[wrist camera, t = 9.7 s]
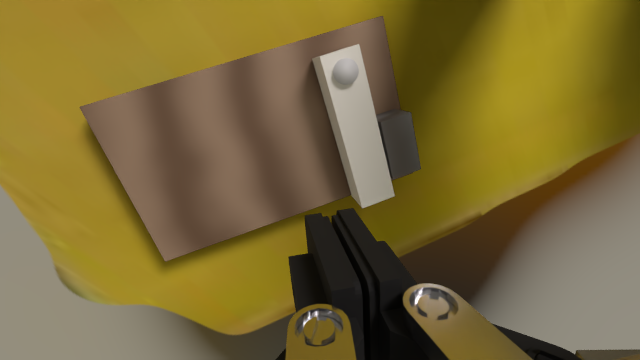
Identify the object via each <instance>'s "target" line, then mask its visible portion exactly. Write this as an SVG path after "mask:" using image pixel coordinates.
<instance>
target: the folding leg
mask: <svg viewBox="0 0 640 360" xmlns="http://www.w3.org/2000/svg"><path fill="white" fill-rule="evenodd" d="M312 60H313V64H314V67H315V71H316V74H317V77H318V81H319V84H320V88H321V91H322V95H323V98H324V102H325V105H326V108H327V112H328V115H329V119H330V122H331V126H332V129H333V133H334V136H335V140H336V143H337V146H338V150H339V153H340V157H341V160H342V164H343V167H344V171H345V174H346V177H347V181H348V184H349V188H350V191H351V195H352V197H353V198H354V199H355V200H356V201H357V203H358V204H359V205H360V206H361V207H362V208H365V207H368V206H370V205H373V204H376V203H378V202H381V201H383V200H386V199H389V198H391V197H394V196H395V195H394V190H393V186H392V182H391V178H390V173H389V169H388V165H387V161H386V156H385V152H384V148H383V144H382V139H381V135H380V131H379V127H378V122H377V118H376V114H375V110H374V105H373V101H372V97H371V92H370V88H369V84H368V80H367V75H366V71H365V67H364V63H363V58H362V54H361V50H360V46H359V44H357V45H354V46H350V47H347V48H343V49H340V50H337V51H334V52H331V53H328V54H325V55H322V56H319V57H316V58H313V59H312Z"/></svg>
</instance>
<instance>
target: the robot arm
mask: <svg viewBox="0 0 640 360" xmlns="http://www.w3.org/2000/svg"><path fill="white" fill-rule="evenodd" d="M305 227H306V237H307V247H308V254H302V255H296V256H290V257H289V266H290V274H291V282H292V289H293V296H294V302H295V308H296V314H294V316H293V317H292V319H291V320H290V322H289V325H288V330H287V345H286V349H285V350H284V351H283V352H282V353H281V354H280V355H279V357H278V358H277V359H276V360H640V350H577V351H576V353H575V354H573V353H571V352H570V351H567V350H565V349H563V348H561V347H558V346H556V345H553V344H550V343H547V342H544V341H541V340H538V339H535V338H532V337H530V336H527V335H523V334H521V333H518V332H515V331H512V330H509V329H506V328H503V327H500V326H497V325H494V324H492V323H490V322H489V321H487V320H486V319H485V318H484V317H483V316H482V315H481V314H480V313H478V312H477V311H476V310H475V309H474V308H473V307H472V306H470V305H469V304H468V303H467V302H466V301H465V300H463V299H462V298H461V297H460V296H459V295H458V294H456V293H455V292H453V291H452V290H450V289H448V288H446V287H443V286H441V285H436V284H428V283H426V284H425V283H423V284H417V283H416V282H415V280H414V279H413V278H412V276H411V275H410V274H409V272H408V271H407V270H406V268H405V267H404V266H403V264H402V263H401V262H400V260H399V259H398V258H397V256H396V255H395V254H394V252H393V251H392V250H391V248H390V247H389V246H388V244H387V243H386V242H385V241H378V242H377V241H376V240H375V238H374V237H373V236H372V234H371V233H370V231H369V230H368V228H367V227H366V226H365V224H364V223H363V221H362V220H361V218H360V217H359V216H358V214H357V213H356V211H355V210H354V209H353V208H351V209H345V210H338V211H337V214H336V215H333V216H332V224H331V222H330V220H329V218H328V216H326V217H323V216H322V214H321V213H318V214H311V215H305Z"/></svg>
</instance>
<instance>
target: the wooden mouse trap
mask: <svg viewBox="0 0 640 360" xmlns="http://www.w3.org/2000/svg"><path fill="white" fill-rule="evenodd" d="M357 44H359V46H360V50H361V54H362V58H363V63H364V67H365V71H366V75H367V80H368V84H369V88H370V92H371V97H372V101H373V105H374V110H375V114H376V118H377V122H378V127H379V131H380V135H381V139H382V144H383V148H384V152H385V156H386V161H387V165H388V169H389V173H390V178H391V181H392V180H394V179H397V178H400V177H403V176H406V175H408V174H411V173H413V172H414V171H417V170H420V169H421V166H420V161H419V155H418V150H417V144H416V138H415V133H414V127H413V121H412V116H411V112H407V111H403V110H401V109H400V104H399V99H398V93H397V88H396V83H395V77H394V72H393V67H392V62H391V56H390V51H389V46H388V41H387V35H386V30H385V25H384V19H383V16H380V17H377V18H374V19H370V20H367V21H364V22H360V23H357V24H354V25H350V26H347V27H344V28H340V29H337V30H334V31H330V32H327V33H324V34H320V35H317V36H314V37H310V38H307V39H304V40H300V41H297V42H294V43H290V44H287V45H284V46H281V47H277V48H274V49H271V50H267V51H264V52H261V53H257V54H254V55H251V56H247V57H244V58H241V59H237V60H234V61H231V62H227V63H224V64H221V65H217V66H214V67H211V68H207V69H204V70H201V71H197V72H194V73H191V74H187V75H184V76H181V77H177V78H174V79H171V80H167V81H164V82H161V83H157V84H154V85H151V86H147V87H144V88H141V89H137V90H134V91H131V92H127V93H124V94H121V95H117V96H114V97H111V98H107V99H104V100H101V101H97V102H94V103H91V104H87V105H84V106H81V107H80V109H81V111H82V113H83V115H84V116H85V118H86V120H87V122H88V124H89V125H90V127H91V129H92V131H93V133H94V134H95V136H96V138H97V140H98V142H99V143H100V145H101V147H102V149H103V151H104V152H105V154H106V156H107V158H108V160H109V161H110V163H111V165H112V167H113V169H114V170H115V172H116V174H117V176H118V178H119V179H120V181H121V183H122V185H123V187H124V188H125V190H126V192H127V194H128V196H129V197H130V199H131V201H132V203H133V205H134V206H135V208H136V210H137V212H138V214H139V215H140V217H141V219H142V221H143V223H144V224H145V226H146V228H147V230H148V232H149V233H150V235H151V237H152V239H153V241H154V242H155V244H156V246H157V248H158V250H159V251H160V253H161V255H162V257H163V259H164V260H165V261H168V260H171V259H174V258H176V257H179V256H182V255H185V254H188V253H190V252H193V251H196V250H199V249H202V248H204V247H207V246H210V245H213V244H216V243H218V242H221V241H224V240H227V239H230V238H232V237H235V236H238V235H241V234H244V233H246V232H249V231H252V230H255V229H258V228H260V227H263V226H266V225H269V224H271V223H274V222H277V221H280V220H283V219H285V218H288V217H291V216H294V215H297V214H299V213H302V212H305V211H308V210H311V209H313V208H316V207H319V206H322V205H325V204H327V203H330V202H333V201H336V200H339V199H341V198H344V197H347V196H350V195H351V191H350V188H349V184H348V181H347V177H346V174H345V171H344V167H343V164H342V160H341V157H340V153H339V150H338V146H337V143H336V140H335V136H334V133H333V129H332V126H331V122H330V119H329V115H328V112H327V108H326V105H325V102H324V98H323V95H322V91H321V88H320V84H319V81H318V77H317V74H316V71H315V67H314V64H313V60H312V59H313V58H316V57H319V56H322V55H325V54H328V53H331V52H334V51H337V50H340V49H343V48H347V47H350V46H354V45H357Z"/></svg>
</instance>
